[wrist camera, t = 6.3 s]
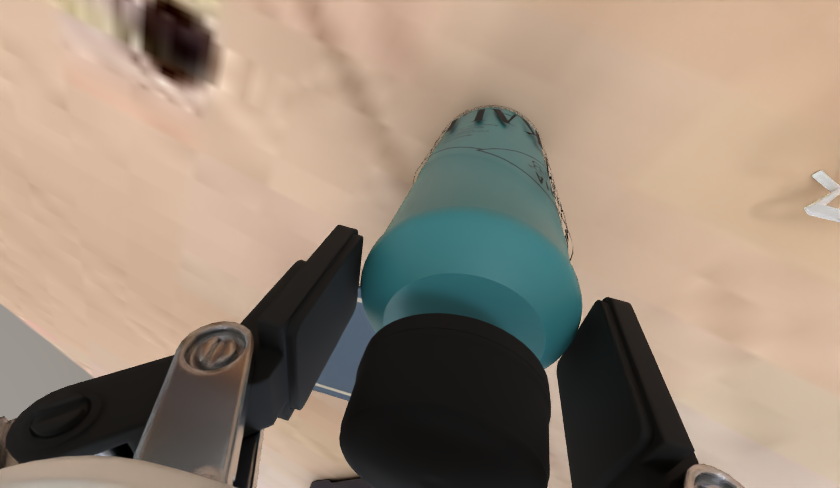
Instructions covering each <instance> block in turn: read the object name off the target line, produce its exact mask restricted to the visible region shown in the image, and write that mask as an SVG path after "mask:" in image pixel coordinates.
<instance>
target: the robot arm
mask: <svg viewBox="0 0 840 488" xmlns="http://www.w3.org/2000/svg"><path fill="white" fill-rule="evenodd" d="M362 247H363V236H360V235H358V230H357V229H353V228H349V227H345V226H342V225H338V226H336V228H335V229H334V230H333V231H332V232H331V233H330V235H329V236H328V237H327V238H326V239H325V240H324V242H323V243H322V244H321V245H320V246H319V247H318V249H317V250H316V251H315V252H314V253H313V254H312V256H311V257H310V258H309V259H308V260H307V261H303V260H299V261H297V262H296V263H295V264H294V265H293V266H292V267H291V268H290V269H289V270H288V271H287V272H286V274H285V275H284V276H283V277H282V278H281V279H280V280H279V281H278V282H277V284H276V285H275V286H274V287H273V288H272V289H271V290H270V291H269V292H268V294H267V295H266V296H265V297H264V298H263V299H262V300H261V301H260V302H259V304H258V305H257V306H256V307H255V308H254V309H253V310H252V311H251V312H250V314H249V315H248V316H247V317H246V318H245V319H244V320H243V321H242V322H241V324H238V323H235V322H217V323H211V324H209V325H206V326H203V327H200V328H199V329H197V330H195V331H193V332H192V333H190V334H189V335H188V336H187V337H186V338H185V339H184V340H183V341H182V342H181V344H180V345H179V347H178V348H177V350H176V353H175V355H173V356H169V357H166V358H162V359H159V360H155V361H152V362H149V363H145V364H142V365H138V366H135V367H132V368H128V369H125V370H121V371H118V372H114V373H111V374H108V375H104V376H101V377H97V378H94V379H91V380H87V381H84V382H80V383H77V384H74V385H70V386H67V387H64V388H62V389H59V390H57V391H54V392H51V393H50V394H48V395H46V396H44V397H43V398H41V399H39V400H37V401H36V402H34V403H33V404H32V405H31V406H29V407H28V408H27V409H26V410H25V411H23V412H22V413H21V414H20V415H19V416H18V418H16V419H13V420H10V421H8V420H7V419H6V418H5V417H4V416H3V417H0V488H256V486H257V479H258V471H259V464H260V456H261V449H262V441H263V434H264V428H267V427H269V426H271V425H273V424H274V422H275V421H276V419H277V417H278V418H281V419H284V420H289V418H290V417H291V415H292V413H293V411H294V409H297V410H301V409H302V408H303V406H304V405H305V403H306V401H307V399H308V397H309V395H310V394H311V392H312V390H313V388H314V386H315V384H316V382H317V381H318V379H319V377H320V375H321V373H322V371H323V369H324V368H325V366H326V364H327V362H328V360H329V358H330V356H331V355H332V353H333V351H334V349H335V347H336V345H337V343H338V342H339V340H340V338H341V336H342V334H343V332H344V330H345V329H346V327H347V325H348V323H349V321H350V319H351V317H352V316H353V314H354V311H355V309H356V305H357V298H358V288H359V277H360V267H361V257H362ZM557 379H558V386H559V394H560V401H561V408H562V416H563V423H564V430H565V438H566V445H567V453H568V460H569V467H570V475H571V482H572V488H744V487H743V486H742V485H741V484H740V483H739V482H738V481H736V480H735V479H734V478H732V477H731V476H730V475H728V474H727V473H725V472H723V471H721V470H719V469H717V468H715V467H712V466H709V465H705V464H699V463H698V461H697V458H696V456H695V454H694V451H695V450H694V448H693V446H692V443H691V441H690V439H689V437H688V434H687V432H686V430H685V427H684V425H683V423H682V420H681V418H680V416H679V414H678V411H677V409H676V407H675V404H674V402H673V400H672V397H671V395H670V393H669V391H668V388H667V386H666V384H665V381H664V379H663V377H662V374H661V372H660V370H659V368H658V365H657V363H656V361H655V358H654V356H653V354H652V352H651V349H650V347H649V345H648V342H647V340H646V338H645V335H644V333H643V331H642V329H641V326H640V324H639V322H638V319H637V317H636V315H635V312H634V310H633V308H632V306H631V304H630V303H628V302H624V301H620V300H617V299H613V298H609V297H606V298H604V299H603V300H602V301H600V300H597V301H596V302H595V303H594V305H593V306H592V308H591V310H590V311H589V313H588V315H587V316H586V318H585V319H584V321H583V323H582V324H581V326H580V327H579V329H578V331H577V333H576V335H575V337H574V339H573V342H572V343H571V344H570V346H569V347H568V349H567V350H566V351H565V352H564V353H563V355H562V356H561V358H560V360H559V362H558V365H557Z"/></svg>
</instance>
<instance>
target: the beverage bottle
mask: <svg viewBox="0 0 840 488" xmlns="http://www.w3.org/2000/svg"><path fill="white" fill-rule="evenodd" d="M488 106H494V105H488ZM480 107H481V106H480ZM501 107H502V106H501ZM506 108H507V107H506ZM476 109H477V110H475V109H473V110H474V111H472V110H470V111H471V112H469V113H466V111H465V113H466V114H464V112H463V114H464V115H463V116H461V115H460V118H457V119H456V118H454V119H456V120H454V121H453V122H452V124H451V125H450V123H449V125H450V127H449V128H448V130H447V131H446V130H445V131H446V132H445V131H444V132H445V134H444V135H443V137H442V139H441V140H440V142H439V141H438V140H439V139H440V137H439V139H438V140H437V141H438V142H439V143H438V145H437V146H436V147H435V148H434V150H432V151H433V152H432V154H431V153H430V154H431V155H430V156H429V158H428V160H427V162H426V163H425V165H424V166H423V168H422V170H421V171H420V173H419V174H418V177H417V180H416V182H415V183H414V185H413V187H412V188H411V190H410V191H409V193H408V195H407V196H406V198H405V200H404V201H403V203H402V205H401V206H400V208H399V210H398V211H397V213H396V215H395V216H394V218H393V219H392V221H391V223H390V224H389V226H388V228H387V229H386V231H385V233H384V234H383V235H382V236H381V237H380V238H379V239H378V241H377V242H376V244H375V245H374V246H373V248H372V249H371V251H370V253H369V255H368V257H367V259H366V261H365V264H364V267H363V270H362V276H361V298H362V304H363V308H364V311H365V314H366V316H367V318H368V320H369V322H370V324H371V326H372V328H373V329H374V331H375V332H376V334H375V335H374V336H373V337H372V338H371V340H370V341H369V343H368V345H367V347H366V349H365V351H364V354H363V356H362V358H361V361H360V364H359V366H358V369H357V374H356V382H355V385H354V388H353V391H352V394H351V397H350V399H349V402H348V405H347V408H346V411H345V414H344V417H343V420H342V423H341V432H340V438H339V440H340V447H341V450H342V453H343V455H344V457H345V459H346V461H347V462H348V464H349V465H350V466H351V468H352V469H353V470H354V471H355V472H356V473H357V474H358V475H359V476H360V477H361V478H362V479H363V480H364V481H365V482H367V483H368V484H369V485H370V486H372V487H373V488H547V486H548V481H549V475H550V464H549V421H550V417H551V401H550V392H549V384H548V379H547V375H546V372H545V370H544V369H546V368H547V367H549V366H550V365H551V364H553V363H554V362H555V361H556V360H557V359H558V358H559V357H560V356H561V355H562V354H563V353H564V352H565V351H566V350H567V349H568V347H569V346H570V344H571V343H572V342H573V339H574V337H575V335H576V333H577V331H578V328H579V324H580V321H581V314H582V295H581V291H580V287H579V283H578V279H577V276H576V274H575V271H574V269H573V267H572V265H571V263H570V260H571V258H572V255H573V252H572V255H571V258H570V259H569V254H568V242H567V243H566V241H567V239H568V234H567V233H568V232H569V231H568V229H565V232H566V230H567V233H566V235H565V236H564V232H563V228H562V225H561V221H560V217H559V213H560V212H559V213H558V211H559V210H558V208H557V206H556V202H555V199H556V197H557V196H558V194H557V196H556V197H555V196H554V195H556V194H555V191H552V187H555V185H554V184H555V183H554V184H553V185H552V187H551V183H552V177H551V176H550V177H549V172H548V166H549V164H547V163H548V162H547V160H548V159H547V158H546V157H545V158H546V163H545V160H544V157H543V156H544V155H543V152H542V149H543V148H542V145H541V141H540V137H541V136H540V137H539V134H538V133H537V131H536V130H535V131H534V129H533V128H532V126H531V125H530V124H529V123H528V122H527V121H526V120H525V119H524V118H522V117H523V116H524V115H523V116H522V117H521V116H519V115H520V114H519V115H518V113H519V112H518V113H517V114H516V113H515V112H514V111H515V110H514V111H513V112H511V111H509V110H506V109H502V108H498V107H494V108H493V107H489V108H481V109H480V108H477V107H476ZM509 109H510V108H509ZM512 110H513V109H512ZM467 112H468V110H467ZM516 112H517V111H516ZM528 120H529V119H528ZM529 121H530V120H529ZM532 124H533V123H532ZM446 128H447V127H446ZM446 128H445V129H446ZM534 128H535V127H534ZM444 132H443V133H444ZM443 133H441V134H443ZM440 136H441V135H440ZM437 141H436V142H437ZM436 142H435V143H436ZM435 145H436V144H435ZM543 145H544V144H543ZM541 148H542V149H541ZM545 152H546V151H545ZM545 152H544V153H545ZM545 155H546V154H545ZM426 159H427V158H426ZM426 159H424V161H425V160H426ZM424 161H423V162H424ZM423 162H422V163H423ZM422 163H421V164H422ZM420 166H421V165H420ZM546 166H547V168H546ZM549 168H550V167H549ZM418 169H419V168H418ZM415 174H416V173H415ZM550 174H551V173H550ZM414 177H415V176H414ZM550 179H551V183H550ZM413 182H414V180H413ZM554 189H555V188H553V190H554ZM556 190H557V189H556ZM553 192H554V193H553ZM556 192H557V191H556ZM554 197H555V198H554ZM557 200H558V198H557ZM557 200H556V201H557ZM557 203H558V204H559V201H558V202H557ZM559 206H561V204H559ZM561 209H562V207H561ZM561 212H563V210H561ZM563 214H564V213H563ZM560 215H562V213H561V214H560ZM561 217H562V216H561ZM564 218H565V216H564ZM562 219H563V218H562ZM563 221H564V220H563ZM565 221H566V220H565ZM564 223H565V222H564ZM565 225H567V223H565ZM566 228H567V226H566ZM569 235H570V234H569ZM566 236H567V238H566ZM565 238H566V239H565ZM570 238H571V237H570ZM571 241H572V240H571Z"/></svg>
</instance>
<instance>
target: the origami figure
mask: <svg viewBox="0 0 840 488" xmlns="http://www.w3.org/2000/svg"><path fill="white" fill-rule="evenodd" d="M811 176H812V177H813V178H814V179H815V180H817V181H818V182H819V183H821V184H822V185H823V186H824V187H825V188H826V189H828V190H829V191H830V193H828V194H827V195H825V196H823V197H822V198H820V199H818V200H817V201H815V202H813V203H811V204H810V205H808V206H806V207H805V208H804V209H805V211H806V213H807V214H808V215H811V216H815V217H819V218H824V219H828V220H832V221H836V222H840V209H838V208H834V207H830V206H826V205H827V204H828V203H829V202H830V201H832V200H833V199H834V198H835V197H836V196H838V195H839V194H840V185H839V184H837V183H836V182H835V181H834V180H832V179H831V178H830V177H829V176H828V175H827V174H826V173H824V172H823V171H822V170H821V171H819V172H817V173H815V174H813V175H811Z"/></svg>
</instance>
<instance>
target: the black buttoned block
mask: <svg viewBox="0 0 840 488" xmlns="http://www.w3.org/2000/svg"><path fill="white" fill-rule="evenodd" d="M310 488H373V487H372V486H370V485H369V484H368V483H367V482H365V481H364V480H363V479H362V478H359V479H353V480H347V481H340V482H334V483H332V482H331V481H329V480H322V481H315V482H312V484H311V486H310Z"/></svg>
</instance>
